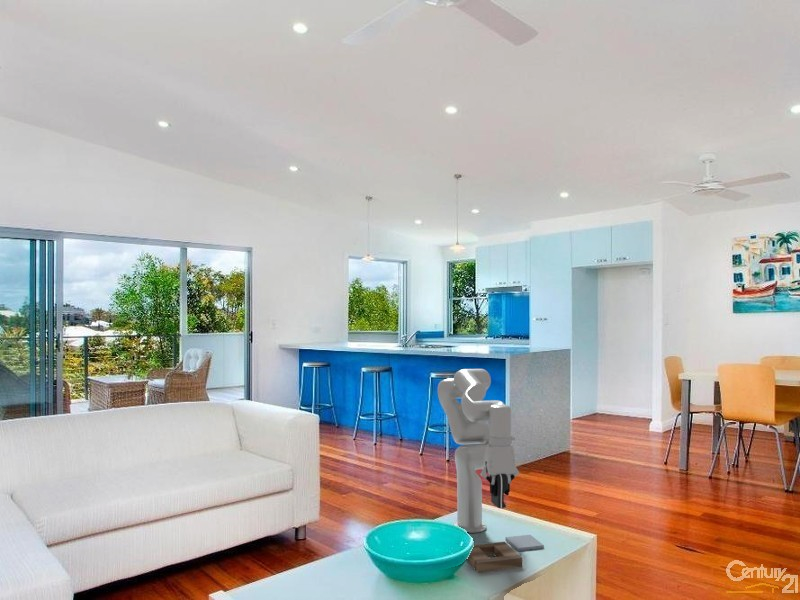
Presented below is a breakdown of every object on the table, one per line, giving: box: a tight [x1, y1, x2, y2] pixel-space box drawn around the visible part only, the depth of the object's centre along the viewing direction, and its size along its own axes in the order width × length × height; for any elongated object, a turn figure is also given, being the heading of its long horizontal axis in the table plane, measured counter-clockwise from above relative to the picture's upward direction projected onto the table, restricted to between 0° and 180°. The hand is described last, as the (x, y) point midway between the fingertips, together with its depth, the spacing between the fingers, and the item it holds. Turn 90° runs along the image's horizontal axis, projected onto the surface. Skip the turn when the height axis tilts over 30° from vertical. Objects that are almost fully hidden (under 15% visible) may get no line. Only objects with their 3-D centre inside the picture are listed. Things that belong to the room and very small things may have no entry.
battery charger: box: [490, 474, 508, 509], centre depth 194 cm, size 7×4×11 cm, turn 15°
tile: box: [505, 534, 545, 552], centre depth 203 cm, size 10×10×1 cm
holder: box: [466, 541, 523, 573], centre depth 189 cm, size 14×16×3 cm
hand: (499, 494), depth 194 cm, fingers closed on battery charger, 3 cm apart
